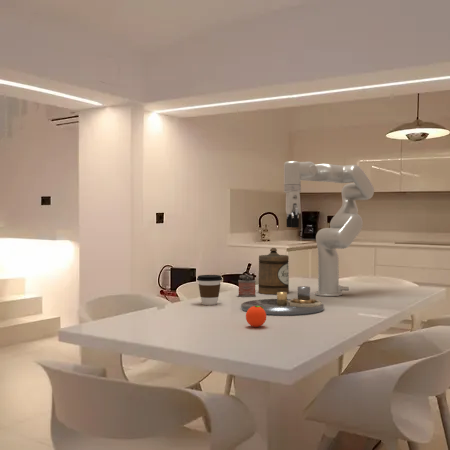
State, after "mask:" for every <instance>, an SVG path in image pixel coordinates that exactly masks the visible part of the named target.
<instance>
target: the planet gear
mask: <svg viewBox="0 0 450 450" xmlns="http://www.w3.org/2000/svg"><path fill="white" fill-rule="evenodd" d="M291 299H292V303H301V304H305V303H315V300H316V299H315V298H312V297H311V287H310V286H309V285H307V286H306V285H304V286H303V285H300V286H297V298H296V297H294V298H291Z"/></svg>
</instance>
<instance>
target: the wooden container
mask: <svg viewBox="0 0 450 450" xmlns="http://www.w3.org/2000/svg"><path fill="white" fill-rule="evenodd" d="M269 251H270V253H268V254H264V255H263V254H261V255H258V293H259V294H261V295H275V296H277V292H287V294H289V288H290V287H289V286H290V285H289V284H290V275H289V274H290V272H289V271H290V270H289V269H290V268H289V266H290V265H289V260H290V259H289V257H290V256H289V255H285V254H279V253H278V249H277V248H276V247H271V248H269Z"/></svg>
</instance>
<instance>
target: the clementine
mask: <svg viewBox="0 0 450 450" xmlns="http://www.w3.org/2000/svg"><path fill="white" fill-rule="evenodd" d="M245 320H246V322H247V324H248V325H249V326H250V327H253V328H259V327H261V326H263V325H264V324H265V322H266V320H267V315H266V313H265V311H264V309H263V307H262V306H253V307H251V308H249V309H248V311H247V312H246V313H245Z"/></svg>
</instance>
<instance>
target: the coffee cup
mask: <svg viewBox="0 0 450 450" xmlns="http://www.w3.org/2000/svg"><path fill="white" fill-rule="evenodd" d="M196 280H197V282H198V289H199V295H200V300H201V304H202V305H204V306H214V305H215V306H216V305H217V304H218V301H219V296H220V291H221V290H220V289H221V281H222V280H223V278H222V275H220V274H200V275H198V276H197V278H196Z"/></svg>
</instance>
